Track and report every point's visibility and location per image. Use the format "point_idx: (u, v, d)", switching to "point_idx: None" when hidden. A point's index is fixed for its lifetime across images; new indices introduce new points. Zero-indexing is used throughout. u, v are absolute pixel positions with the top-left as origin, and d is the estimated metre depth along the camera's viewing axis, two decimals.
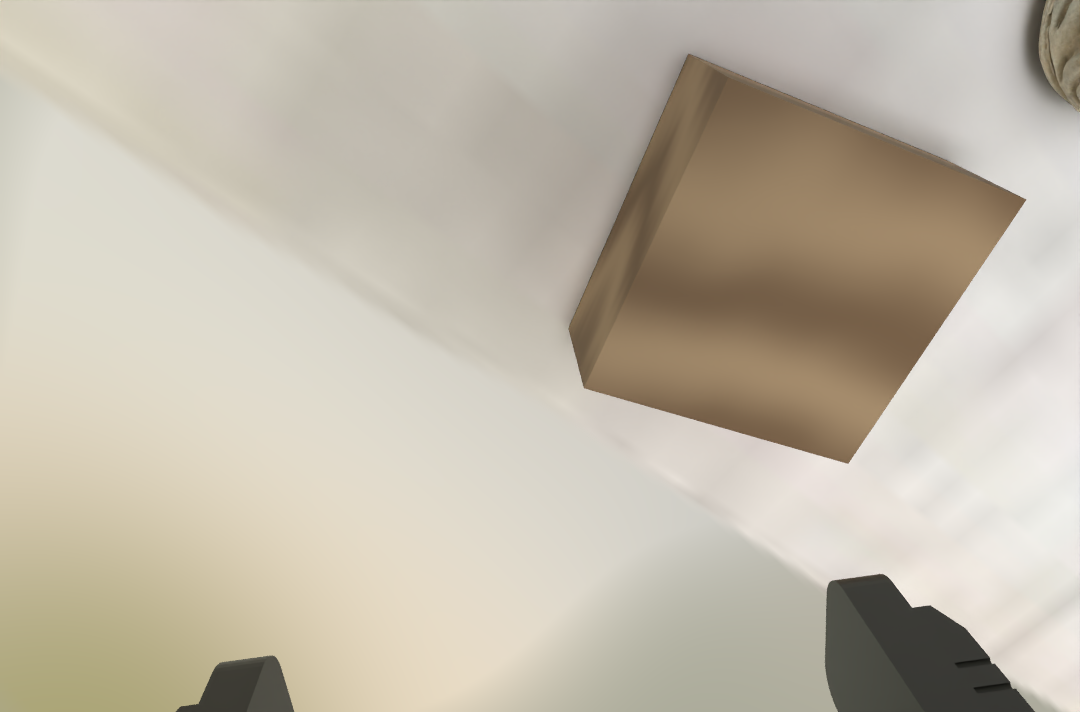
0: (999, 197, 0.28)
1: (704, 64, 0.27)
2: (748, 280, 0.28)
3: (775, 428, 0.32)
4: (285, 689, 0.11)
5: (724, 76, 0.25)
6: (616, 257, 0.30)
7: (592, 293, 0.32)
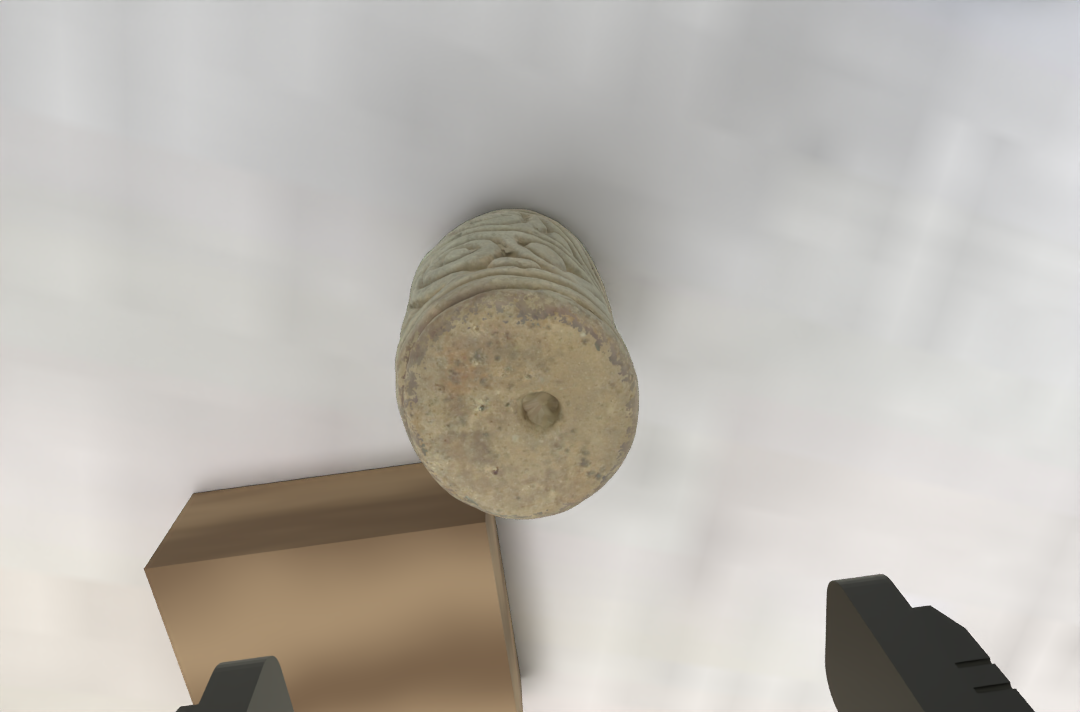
0: (458, 532, 0.28)
1: (173, 525, 0.30)
2: (296, 685, 0.30)
3: None
4: (285, 689, 0.11)
5: (148, 563, 0.28)
6: None
7: None
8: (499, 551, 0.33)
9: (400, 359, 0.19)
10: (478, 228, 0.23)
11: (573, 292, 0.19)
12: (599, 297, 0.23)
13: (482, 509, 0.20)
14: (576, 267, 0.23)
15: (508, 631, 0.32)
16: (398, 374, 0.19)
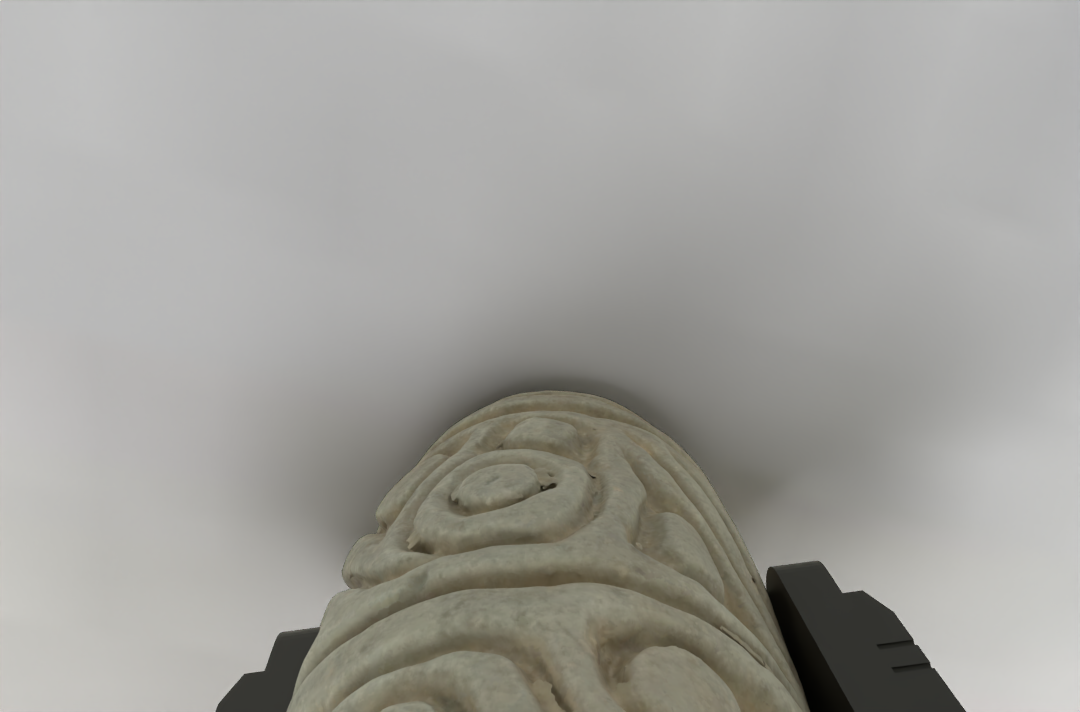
0: None
1: None
2: None
3: None
4: None
5: None
6: None
7: None
8: None
9: None
10: (475, 564, 0.08)
11: None
12: None
13: None
14: (760, 681, 0.08)
15: None
16: None
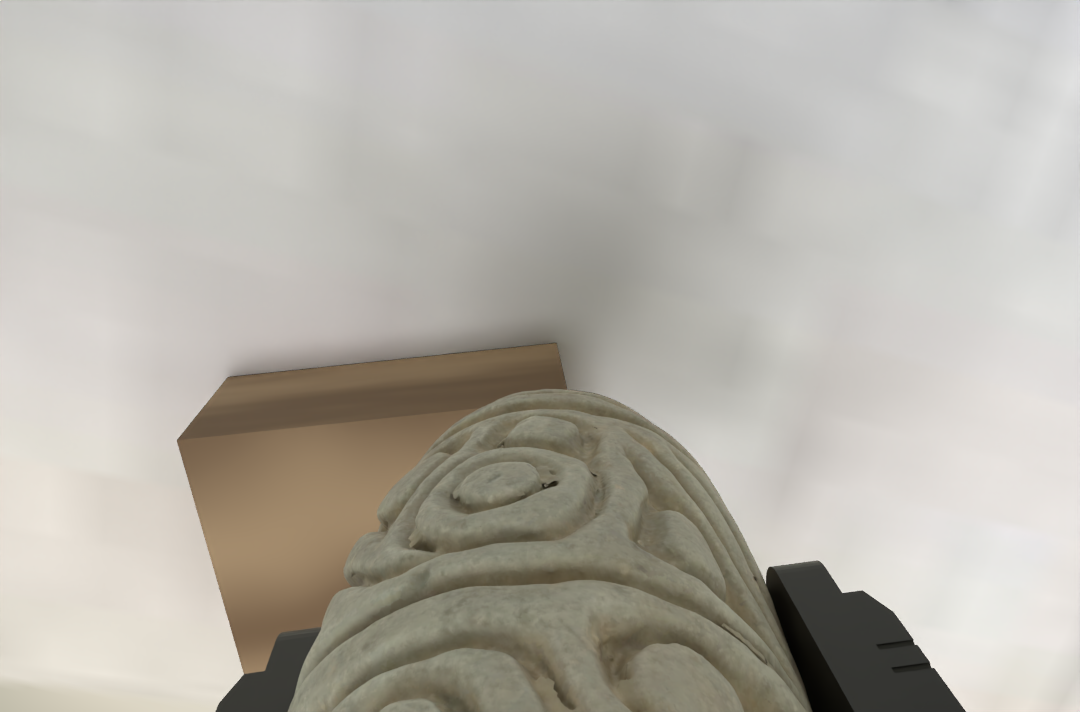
0: None
1: (207, 403, 0.26)
2: (342, 587, 0.26)
3: None
4: None
5: (181, 436, 0.24)
6: None
7: None
8: None
9: None
10: (477, 561, 0.08)
11: None
12: None
13: None
14: (761, 678, 0.08)
15: None
16: None
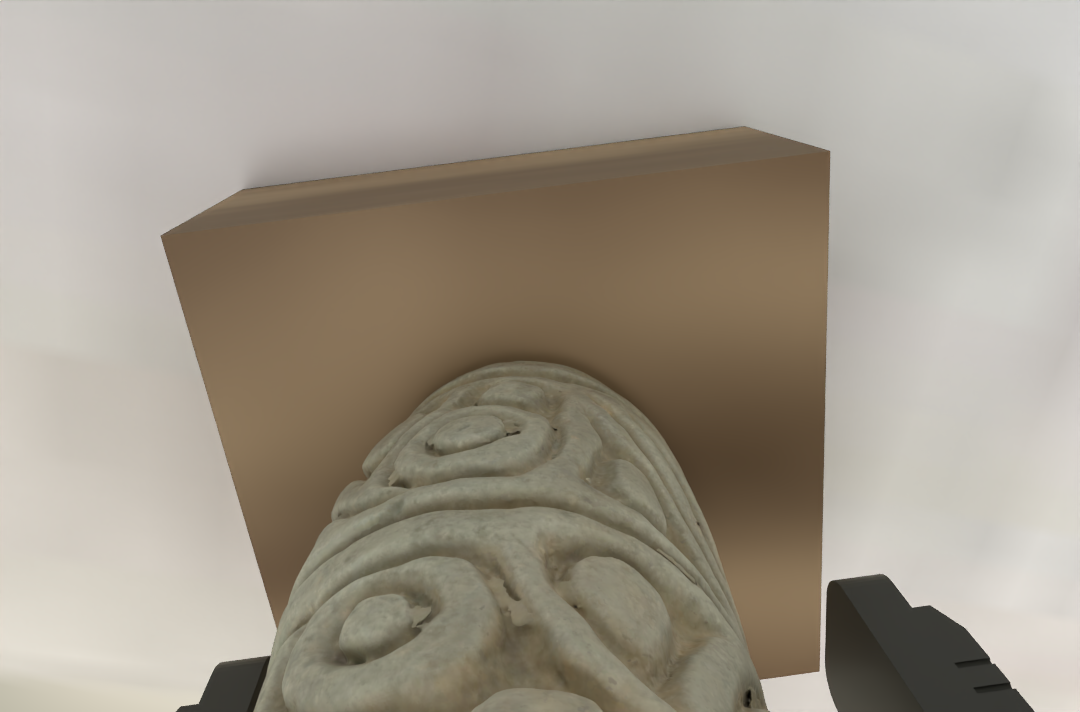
0: (775, 172, 0.14)
1: None
2: None
3: None
4: None
5: None
6: None
7: None
8: None
9: None
10: (445, 491, 0.09)
11: None
12: (749, 678, 0.09)
13: None
14: (688, 593, 0.09)
15: None
16: None
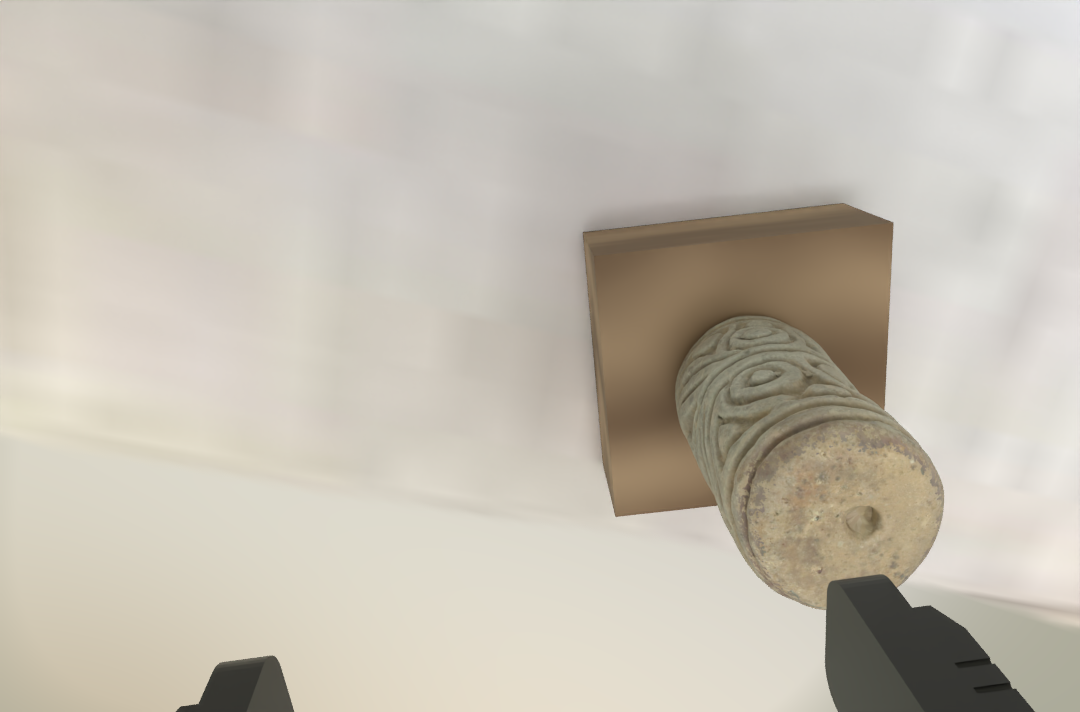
0: (868, 231, 0.31)
1: (587, 243, 0.34)
2: None
3: None
4: (285, 689, 0.11)
5: (593, 255, 0.32)
6: (600, 402, 0.37)
7: (602, 434, 0.38)
8: None
9: (742, 473, 0.22)
10: (765, 347, 0.26)
11: (894, 421, 0.22)
12: None
13: (801, 601, 0.23)
14: (850, 383, 0.26)
15: None
16: (739, 485, 0.23)
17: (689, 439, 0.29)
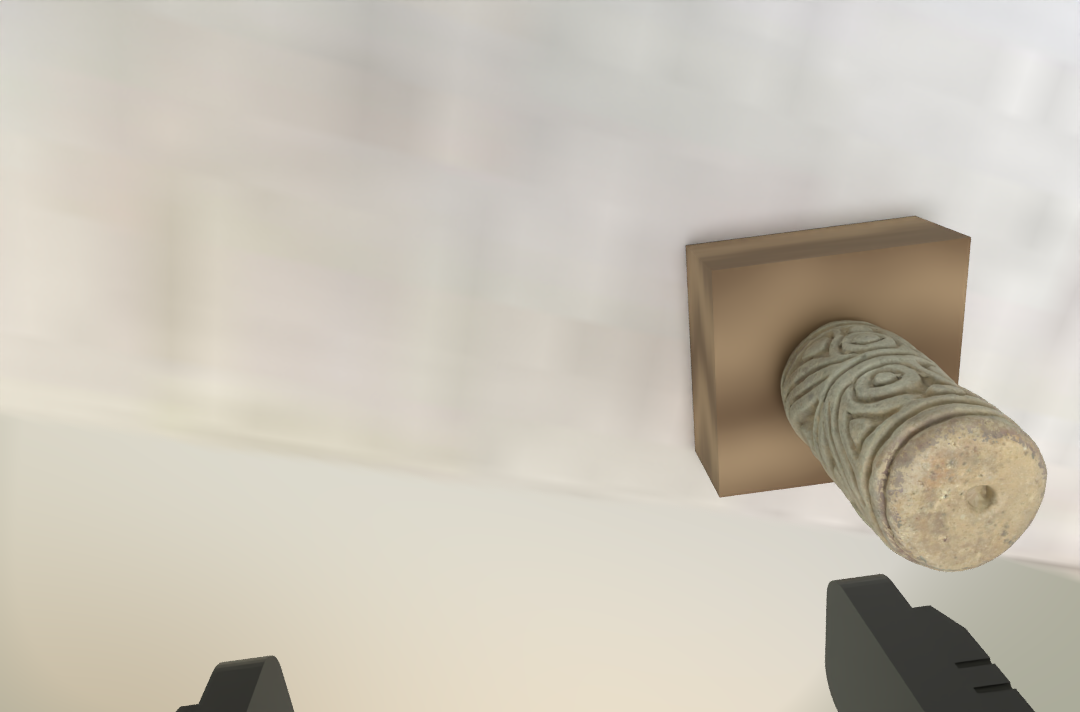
0: (949, 245, 0.36)
1: (696, 256, 0.38)
2: None
3: None
4: (285, 689, 0.11)
5: (709, 269, 0.36)
6: (701, 396, 0.41)
7: (699, 424, 0.43)
8: None
9: (881, 460, 0.27)
10: (879, 351, 0.31)
11: None
12: None
13: (927, 565, 0.28)
14: None
15: None
16: (878, 470, 0.27)
17: (804, 430, 0.34)
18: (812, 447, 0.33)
